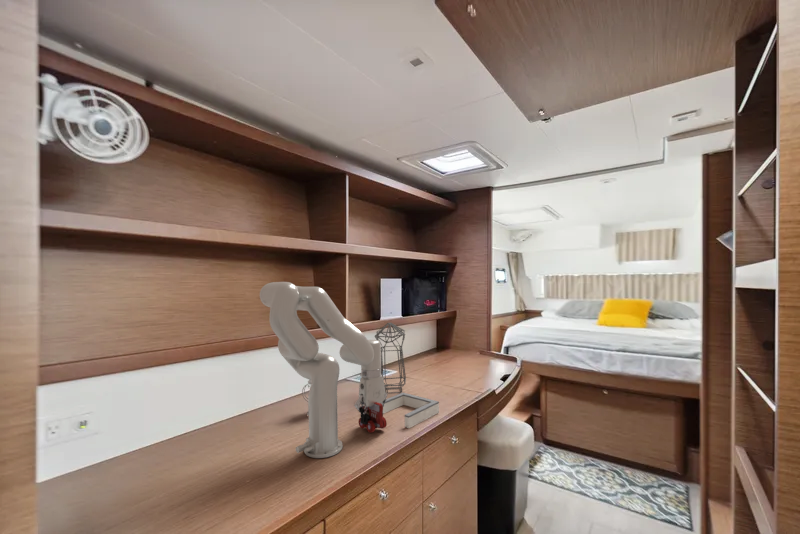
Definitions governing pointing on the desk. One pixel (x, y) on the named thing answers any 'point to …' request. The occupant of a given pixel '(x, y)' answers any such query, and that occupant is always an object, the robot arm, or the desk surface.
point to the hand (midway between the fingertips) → (372, 420)
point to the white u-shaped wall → (423, 405)
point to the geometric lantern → (392, 350)
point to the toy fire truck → (374, 418)
